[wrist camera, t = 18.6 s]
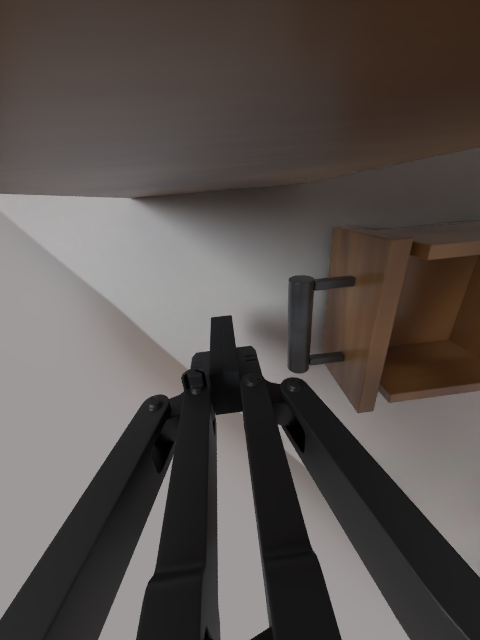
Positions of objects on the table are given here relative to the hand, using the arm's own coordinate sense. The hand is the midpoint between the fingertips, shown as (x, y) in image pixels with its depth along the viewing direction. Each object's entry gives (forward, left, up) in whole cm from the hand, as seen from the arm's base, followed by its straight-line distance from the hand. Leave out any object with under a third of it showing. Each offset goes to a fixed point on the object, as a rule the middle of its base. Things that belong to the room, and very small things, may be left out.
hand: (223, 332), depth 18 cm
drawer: (+13, +1, -2) cm, 13 cm away
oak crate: (+1, +16, -3) cm, 16 cm away
